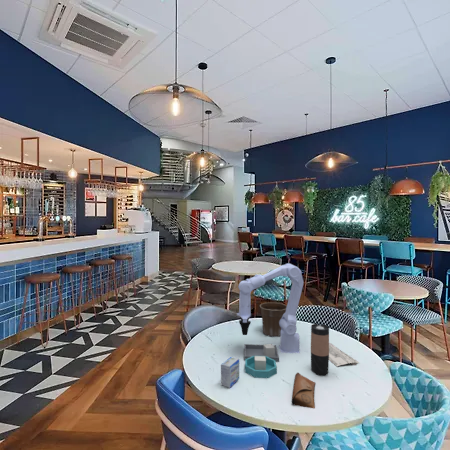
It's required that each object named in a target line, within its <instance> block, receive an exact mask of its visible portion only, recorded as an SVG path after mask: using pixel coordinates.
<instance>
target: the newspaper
mask: <svg viewBox="0 0 450 450" xmlns="http://www.w3.org/2000/svg"><path fill="white" fill-rule="evenodd" d="M329 362H330V363H332V365H334V366H335V367H339V366H343V365H347V364H350V363H351V364H350V365H352V366H353V365H354V366H356V365H358V364H359V363H360V362H359V361H357V360H356V359H355V358H354V357H352V356H350V355H349V354H348V353H346V352H344V351H343V350H341V349H339V348H338V347H337V346H335V345H334V344H333V343H331V342H329Z"/></svg>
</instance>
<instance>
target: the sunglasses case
mask: <svg viewBox="0 0 450 450" xmlns="http://www.w3.org/2000/svg"><path fill="white" fill-rule="evenodd" d="M315 387H316V382H315V381H313V380H311V379H309V378H307V377H305V376H304V375H302V374H301V373H300V372H296V373H295V375H294V379H293V388H292V393H291V394H292V395H291V404H292V406H297V407H303V408H310V409H316V405H315Z"/></svg>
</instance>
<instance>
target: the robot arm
mask: <svg viewBox="0 0 450 450" xmlns="http://www.w3.org/2000/svg"><path fill="white" fill-rule="evenodd" d="M302 273H303V272H302V270H301V269H300V268H299V267H298V266H296V265H294V264H292V263H289V262H288V263H285V264H282V265H280V266H278V267H277V268H275V269H272V270H270V271H268V272H267V273H265V274H263V275H262V274H261V273H258V274H254V276H252V277H250V278H246V279H245V280H241V281H240V282H239V284H238V286H237V287H238V290H239V296H238V297H239V299H238V300H239V304H238V306H239V310H238V312H237V313H236V316H239V318H240V319H239V320H238V323H239V325H240V328H241V333H242V336H247V335H248V331H249V327H250V325H251V324H252V323H251V322H252V321H251V320H250V318H251V316H252V313H251V312H252V311H251V307H252V306H251V300H252V299H251V298H252V295H251V292H252V291H254V290H255V289H258V288H260V287H262V286H265V284H266V282H269V281H270V280H273V279H275V278H278V277H285V278H286V277H288V279H289V280H290V282H291V283H292V285H291V288H290V293H289V296H288V301H287V305H286V306H287V308H286V312H285V313H284V314H283V316H282V318H281V319H280V321H279V325H280V327H281V336H279V337H280V345H278V348H279V351H280V353H281V354H284V353H285V354H301V353H300V343H301V342H300V334H299V332H297V331H298V330H297V316H296V315H297V312H298V307H299V304H300V299H301V295H302V291H303V288H304V287H303V286H304V284H305V283H304V277H303V275H302Z"/></svg>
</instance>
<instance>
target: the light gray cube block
mask: <svg viewBox="0 0 450 450" xmlns="http://www.w3.org/2000/svg"><path fill="white" fill-rule="evenodd" d="M263 345H264V355H265V356H267V357H274V356H275V347H274V346H273V345H274V344H273V343H269V344H268V343H267V344H263Z"/></svg>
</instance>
